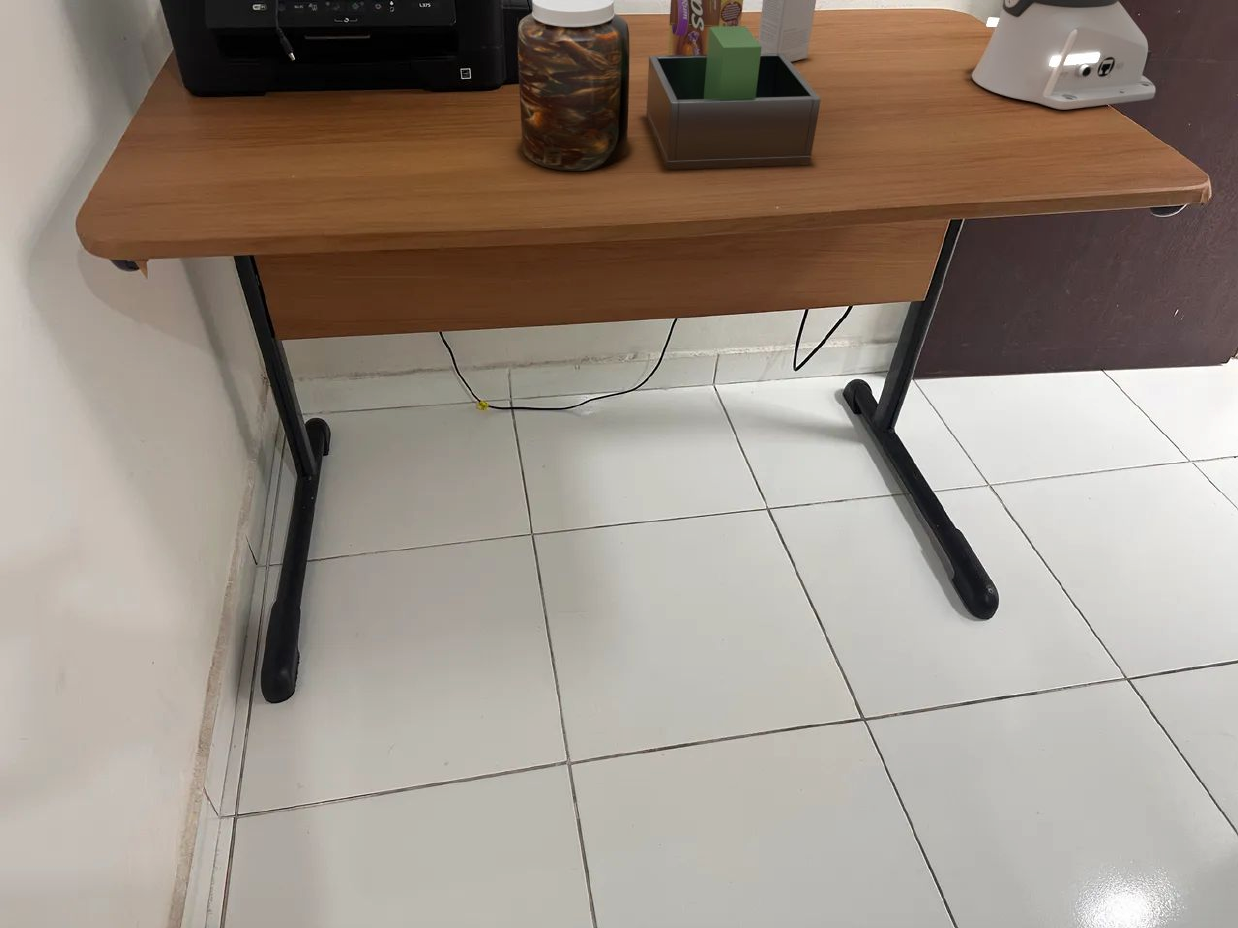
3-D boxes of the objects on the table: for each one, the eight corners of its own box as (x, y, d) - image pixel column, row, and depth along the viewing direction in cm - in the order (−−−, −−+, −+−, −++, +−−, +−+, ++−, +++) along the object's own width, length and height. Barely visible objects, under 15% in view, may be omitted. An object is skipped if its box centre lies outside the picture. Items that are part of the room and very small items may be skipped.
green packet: (735, 119, 100) (745, 26, 93) (750, 143, 95) (762, 46, 88) (701, 120, 99) (709, 26, 93) (714, 144, 94) (723, 47, 88)
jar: (646, 161, 93) (653, 9, 83) (545, 179, 89) (539, 22, 79) (601, 122, 101) (602, -21, 91) (506, 137, 97) (496, -11, 87)
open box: (774, 114, 104) (783, 52, 99) (809, 165, 93) (821, 98, 89) (646, 118, 102) (648, 55, 98) (667, 170, 92) (671, 103, 87)
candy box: (736, 88, 110) (750, -48, 100) (712, 95, 108) (724, -43, 98) (688, 69, 115) (698, -63, 105) (664, 75, 113) (671, -58, 103)
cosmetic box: (786, 51, 122) (800, -47, 114) (808, 60, 119) (824, -40, 111) (753, 58, 119) (765, -41, 111) (775, 68, 116) (789, -34, 108)
